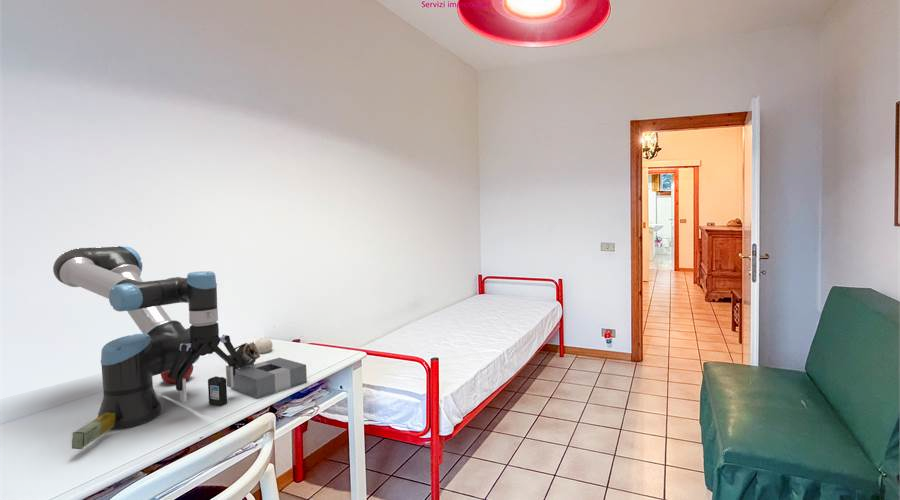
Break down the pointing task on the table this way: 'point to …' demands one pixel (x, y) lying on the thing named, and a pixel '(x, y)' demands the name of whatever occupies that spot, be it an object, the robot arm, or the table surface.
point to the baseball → (263, 345)
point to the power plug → (245, 360)
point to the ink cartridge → (217, 391)
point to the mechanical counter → (247, 350)
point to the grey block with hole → (269, 377)
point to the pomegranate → (166, 379)
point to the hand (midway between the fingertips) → (207, 393)
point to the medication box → (93, 430)
